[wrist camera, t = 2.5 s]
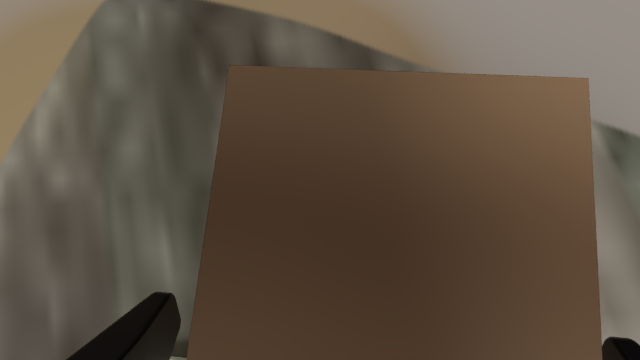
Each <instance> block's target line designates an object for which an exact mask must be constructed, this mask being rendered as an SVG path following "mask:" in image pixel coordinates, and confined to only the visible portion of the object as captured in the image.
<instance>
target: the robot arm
mask: <svg viewBox="0 0 640 360" xmlns="http://www.w3.org/2000/svg"><path fill="white" fill-rule="evenodd" d="M180 323H181V318H180V314H179V310H178V306H177V302H176V299H175V296H174V295H173V294H172V293H166V292H155V293H153V294H151V295H150V296H148V297H147V298H146V299H144V300H143V301H142V302H141V303H139V304H138V305H137V306H135V307H134V308H133V309H131V310H130V311H129V312H127V313H126V314H125V315H124V316H122V317H121V318H120V319H118V320H117V321H116V322H114V323H113V324H112V325H111V326H109V327H108V328H107V329H105V330H104V331H103V332H101V333H100V334H99V335H97V336H96V337H95V338H94V339H92V340H91V341H90V342H88V343H87V344H86V345H84V346H83V347H82V348H80V349H79V350H78V351H77V352H75V353H74V354H73V355H71V356H70V357H69V358H67V359H66V360H170V357H171V354H172V351H173V348H174V345H175V342H176V338H177V335H178V332H179V329H180ZM602 360H640V345H639V344H638V343H636V342H635V341H633V340H632V339H629V338H620V337H609V338H607V339H606V340H605V341H604V343H603V345H602Z"/></svg>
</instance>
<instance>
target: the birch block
mask: <svg viewBox="0 0 640 360" xmlns="http://www.w3.org/2000/svg"><path fill="white" fill-rule="evenodd" d="M588 83H589V81H588V78H567V77H541V76H513V75H485V74H458V73H432V72H404V71H377V70H350V69H322V68H295V67H268V66H241V65H229V72H228V79H227V86H226V92H225V99H224V106H223V113H222V120H221V126H220V133H219V140H218V147H217V153H216V160H215V167H214V174H213V181H212V187H211V194H210V201H209V208H208V215H207V221H206V228H205V235H204V242H203V249H202V255H201V262H200V269H199V276H198V283H197V289H196V296H195V303H194V310H193V317H192V323H191V330H190V337H189V344H188V351H187V357H186V360H602V340H601V320H600V300H599V280H598V260H597V241H596V221H595V201H594V181H593V161H592V141H591V121H590V101H589V84H588Z"/></svg>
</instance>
